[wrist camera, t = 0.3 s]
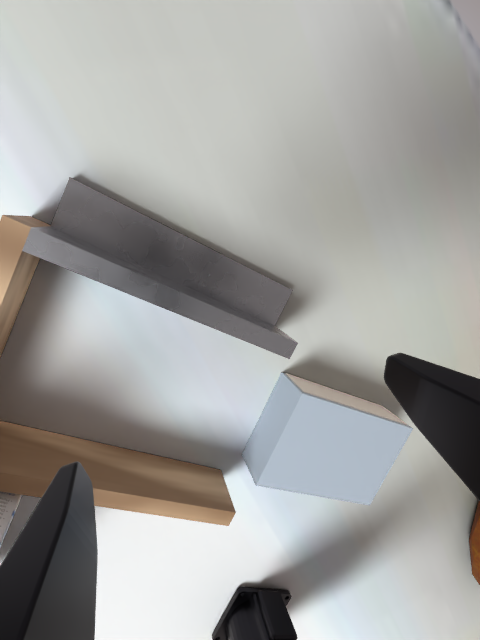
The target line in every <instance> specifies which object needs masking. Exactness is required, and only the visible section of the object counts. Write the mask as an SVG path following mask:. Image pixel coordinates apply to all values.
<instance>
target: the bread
mask: <svg viewBox="0 0 480 640" xmlns="http://www.w3.org/2000/svg"><path fill="white" fill-rule="evenodd" d="M469 544H470V555H471V566H472V574H473V576H474V577H475V579H476V580H477V582H478V583H479V585H480V501H479V502H478V506H477V510H476V514H475V518H474V522H473V526H472V530H471V534H470V538H469Z"/></svg>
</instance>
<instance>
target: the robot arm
mask: <svg viewBox="0 0 480 640" xmlns="http://www.w3.org/2000/svg"><path fill="white" fill-rule="evenodd" d="M384 380H385V383H386V384H387V386H388V387H389V389H390V390H391V392H392V393H393V395H394V396H395V397H396V399H397V400H398V402H399V403H400V405H401V406H402V407H403V409H404V410H405V412H406V413H407V415H408V416H409V417H410V419H411V420H412V422H413V423H414V424H415V425H416V427H417V428H418V429H419V430H420V432H421V433H422V434H423V435H424V436H425V438H426V439H427V440H428V441H429V442H430V443H431V445H432V446H433V447H434V448H435V449H436V450H437V452H438V453H439V454H440V455H441V456H442V457H443V459H444V460H445V461H446V462H447V463H448V464H449V466H450V467H451V468H452V469H453V470H454V472H455V473H456V474H457V475H458V476H459V477H460V479H461V480H462V481H463V482H464V483H465V484H466V486H467V487H468V488H469V489H470V490H471V491H472V493H473V494H474V495H475V496H476V497H477V498H478V500H479V501H480V379H478V378H475V377H472V376H469V375H466V374H463V373H460V372H457V371H454V370H451V369H448V368H445V367H442V366H439V365H436V364H433V363H430V362H427V361H424V360H421V359H418V358H415V357H412V356H409V355H406V354H403V353H397V354H394V355H391V356H389V357H388V358H387V360H386V365H385V371H384ZM96 583H97V536H96V523H95V509H94V496H93V486H92V482H91V479H90V478H89V476H88V474H87V473H86V471H85V469H84V468H83V466H82V464H81V463H80V462H78V461H77V462H73V463H70V464H67V465H64V466H62V467H61V468H60V469H59V470H58V472H57V473H56V475H55V476H54V478H53V480H52V481H51V483H50V485H49V486H48V488H47V490H46V491H45V493H44V495H43V496H42V498H41V499H40V501H39V503H38V504H37V506H36V508H35V509H34V511H33V513H32V514H31V516H30V518H29V519H28V521H27V523H26V524H25V526H24V527H23V529H22V531H21V532H20V534H19V536H18V537H17V539H16V541H15V542H14V544H13V546H12V547H11V549H10V550H9V552H8V554H7V555H6V557H5V559H4V560H3V562H2V564H1V565H0V640H94V635H95V609H96ZM290 599H291V594H290V592H289V591H288V590H276V589H262V588H248V587H241V588H239V589H237V591H236V592H235V594H234V596H233V598H232V600H231V601H230V603H229V605H228V607H227V609H226V610H225V612H224V614H223V616H222V618H221V619H220V621H219V623H218V625H217V627H216V628H215V630H214V632H213V634H212V639H213V640H297V634H296V632H295V629H294V626H293V624H292V621H291V619H290V616H289V614H288V611H287V609H286V605H287V604H288V602H289V600H290Z"/></svg>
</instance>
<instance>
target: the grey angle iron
mask: <svg viewBox="0 0 480 640" xmlns="http://www.w3.org/2000/svg"><path fill="white" fill-rule="evenodd" d="M22 251H24V252H26V253H29V254H31V255H34V256H36V257H39V258H41V259H44V260H46V261H48V262H51V263H53V264H56V265H58V266H61V267H63V268H66V269H68V270H71V271H73V272H76V273H78V274H81V275H83V276H86V277H88V278H90V279H93V280H95V281H98V282H100V283H103V284H105V285H108V286H110V287H113V288H115V289H118V290H120V291H123V292H125V293H128V294H130V295H132V296H135V297H137V298H140V299H142V300H145V301H147V302H150V303H152V304H155V305H157V306H160V307H162V308H165V309H167V310H170V311H172V312H174V313H177V314H179V315H182V316H184V317H187V318H189V319H192V320H194V321H197V322H199V323H202V324H204V325H207V326H209V327H212V328H214V329H216V330H219V331H221V332H224V333H226V334H229V335H231V336H234V337H236V338H239V339H241V340H244V341H246V342H249V343H251V344H254V345H256V346H259V347H261V348H263V349H266V350H268V351H271V352H273V353H276V354H278V355H281V356H283V357H286V358H288V359H290V357H291V355H292V353H293V351H294V349H295V347H296V346H297V344H298V343H297V342H296V341H295V340H293V339H292V338H291V337H289V336H288V335H287V334H285V333H284V332H283V331H281V330H280V329H279V328H277V327H276V326H275V324H276V322H277V320H278V318H279V316H280V314H281V312H282V310H283V308H284V307H285V305H286V303H287V301H288V299H289V297H290V295H291V293H292V291H293V290H292V289H290V288H288V287H286V286H284V285H282V284H280V283H278V282H276V281H274V280H272V279H270V278H268V277H266V276H264V275H262V274H260V273H258V272H256V271H254V270H252V269H250V268H248V267H246V266H244V265H242V264H240V263H238V262H236V261H234V260H232V259H230V258H228V257H226V256H224V255H222V254H220V253H218V252H216V251H215V250H213V249H211V248H209V247H207V246H205V245H203V244H201V243H199V242H197V241H195V240H193V239H191V238H189V237H187V236H185V235H183V234H181V233H179V232H177V231H175V230H173V229H171V228H169V227H167V226H165V225H163V224H161V223H159V222H157V221H155V220H153V219H151V218H149V217H147V216H145V215H143V214H141V213H139V212H137V211H136V210H134V209H132V208H130V207H128V206H126V205H124V204H122V203H120V202H118V201H116V200H114V199H112V198H110V197H108V196H106V195H104V194H102V193H100V192H98V191H96V190H94V189H92V188H90V187H88V186H86V185H84V184H82V183H80V182H78V181H76V180H74V179H72V178H69V181H68V183H67V186H66V188H65V191H64V193H63V196H62V198H61V201H60V203H59V206H58V208H57V211H56V213H55V216H54V218H53V221H52V223H51V226H46V227H31V229H30V232H29V234H28V237H27V239H26V242H25V244H24V247H23V250H22Z"/></svg>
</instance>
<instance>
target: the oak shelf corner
mask: <svg viewBox="0 0 480 640" xmlns="http://www.w3.org/2000/svg"><path fill="white" fill-rule="evenodd" d="M46 226H51V225H49V224H47V223H45V222H42V221H40V220H38V219H36V218H33V217H31V216H13V215H2V218H1V220H0V358H1V355H2V352H3V350H4V347H5V345H6V342H7V340H8V337H9V335H10V332H11V330H12V327H13V325H14V322H15V320H16V317H17V315H18V312H19V310H20V307H21V305H22V302H23V300H24V297H25V295H26V292H27V290H28V287H29V285H30V282H31V280H32V277H33V275H34V272H35V269H36V267H37V264H38V262H39V259H40V258H39V257H36V256H34V255H31V254H29V253H26V252H24V251H22V250H23V247H24V244H25V242H26V239H27V237H28V234H29V232H30V229H31V227H46ZM77 461H78V462H80V463H81V464H82V466H83V468H84V469H85V471H86V473H87V474H88V476H89V478H90V479H91V482H92V486H93V496H94V506H100V507H107V508H113V509H120V510H126V511H133V512H140V513H146V514H153V515H159V516H166V517H173V518H179V519H186V520H193V521H199V522H206V523H212V524H219V525H226V526H229V524H230V522H231V520H232V518H233V517H234V515H235V513H236V512H235V509H234V506H233V503H232V501H231V498H230V495H229V492H228V489H227V486H226V483H225V480H224V477H223V475H222V472H221V470H219V469H215V468H210V467H206V466H201V465H197V464H192V463H188V462H183V461H179V460H174V459H170V458H165V457H161V456H156V455H152V454H147V453H143V452H138V451H134V450H129V449H125V448H120V447H116V446H112V445H107V444H103V443H98V442H94V441H89V440H85V439H80V438H76V437H71V436H67V435H62V434H58V433H53V432H49V431H44V430H40V429H35V428H31V427H26V426H22V425H17V424H13V423H8V422H4V421H0V491H1V492H7V493H14V494H21V495H27V496H34V497H40V498H42V496H43V495H44V493H45V491H46V490H47V488H48V486H49V485H50V483H51V481H52V480H53V478H54V476H55V475H56V473H57V472H58V470H59V469H60V468H61V467H62V466H64V465H67V464H70V463H73V462H77Z"/></svg>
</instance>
